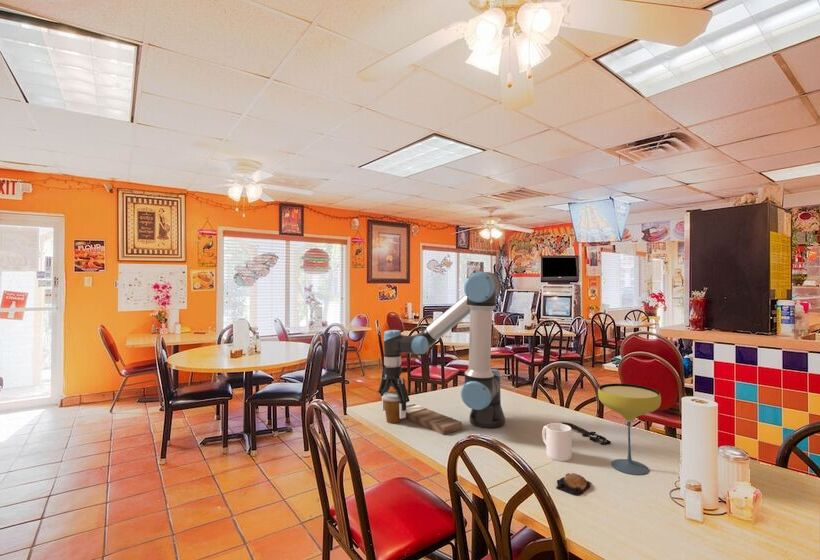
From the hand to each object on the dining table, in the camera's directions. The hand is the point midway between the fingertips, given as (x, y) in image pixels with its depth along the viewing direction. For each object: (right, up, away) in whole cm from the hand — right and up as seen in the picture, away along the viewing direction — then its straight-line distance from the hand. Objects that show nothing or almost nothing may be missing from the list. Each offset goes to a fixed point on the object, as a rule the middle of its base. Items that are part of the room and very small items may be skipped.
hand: (393, 413), depth 181 cm
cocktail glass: (+79, -2, -47) cm, 92 cm away
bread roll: (+56, -3, -58) cm, 81 cm away
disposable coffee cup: (0, -3, 0) cm, 3 cm away
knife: (+76, -3, -17) cm, 78 cm away
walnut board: (+15, -3, -1) cm, 15 cm away
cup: (+58, -3, -37) cm, 69 cm away
